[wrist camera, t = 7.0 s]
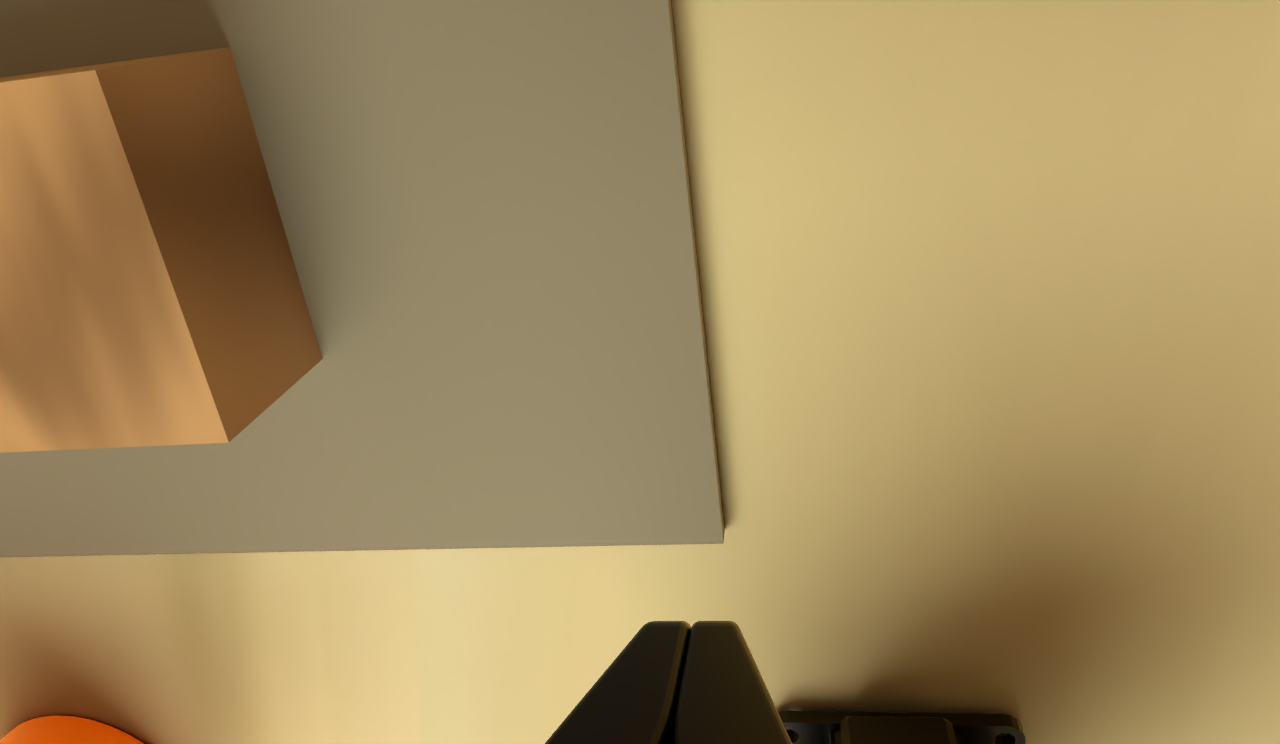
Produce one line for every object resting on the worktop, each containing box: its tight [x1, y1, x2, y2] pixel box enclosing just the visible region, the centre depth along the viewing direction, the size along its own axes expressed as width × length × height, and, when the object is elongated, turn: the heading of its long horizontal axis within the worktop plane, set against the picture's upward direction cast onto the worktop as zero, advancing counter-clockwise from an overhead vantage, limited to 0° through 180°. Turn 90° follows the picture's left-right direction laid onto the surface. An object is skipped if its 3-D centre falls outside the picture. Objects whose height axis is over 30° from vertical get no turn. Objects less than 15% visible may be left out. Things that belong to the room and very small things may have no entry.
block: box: [0, 47, 323, 453], centre depth 19 cm, size 7×4×9 cm
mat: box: [0, 0, 725, 557], centre depth 20 cm, size 18×22×1 cm
